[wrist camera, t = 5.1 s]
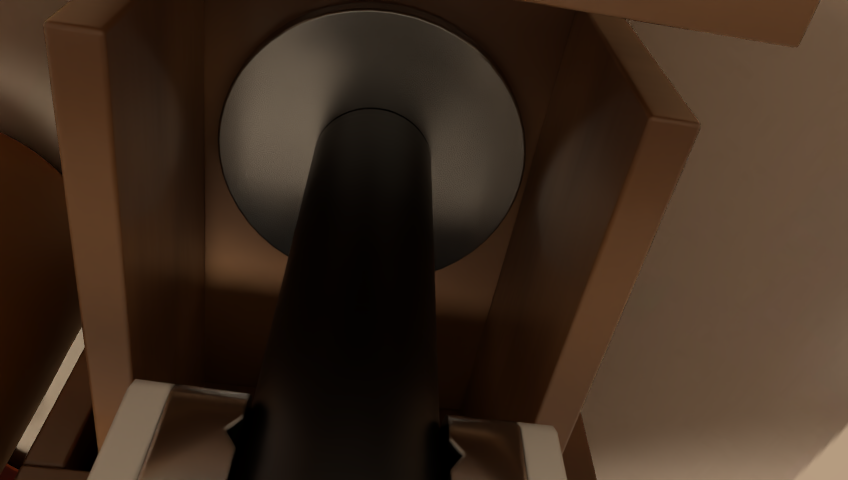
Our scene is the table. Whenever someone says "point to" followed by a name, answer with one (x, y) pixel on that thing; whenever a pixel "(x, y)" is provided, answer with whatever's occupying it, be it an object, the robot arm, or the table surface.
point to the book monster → (8, 473)
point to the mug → (32, 286)
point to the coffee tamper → (363, 226)
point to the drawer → (454, 285)
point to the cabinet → (77, 446)
